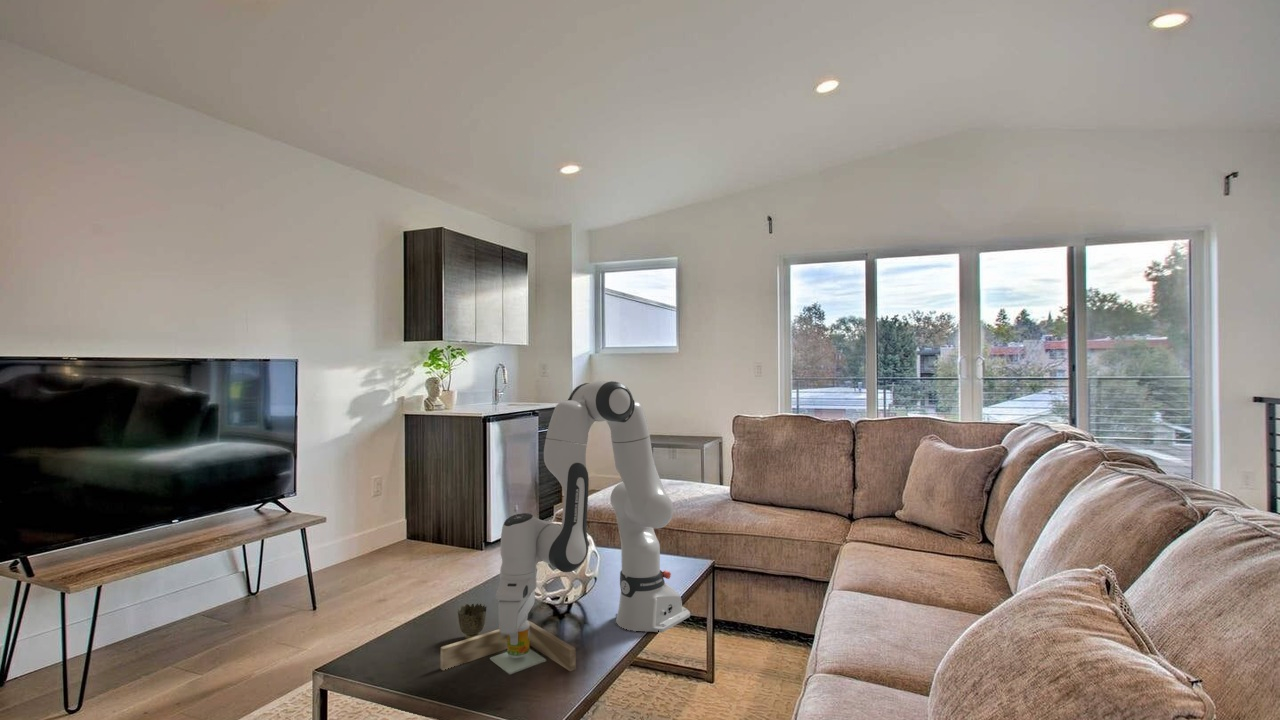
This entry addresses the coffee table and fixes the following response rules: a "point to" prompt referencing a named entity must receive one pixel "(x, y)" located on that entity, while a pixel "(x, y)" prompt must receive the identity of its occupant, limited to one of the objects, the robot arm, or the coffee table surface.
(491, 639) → the oak corner walls
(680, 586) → the coffee table surface
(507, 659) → the mat
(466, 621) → the cup
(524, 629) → the supplement bottle
